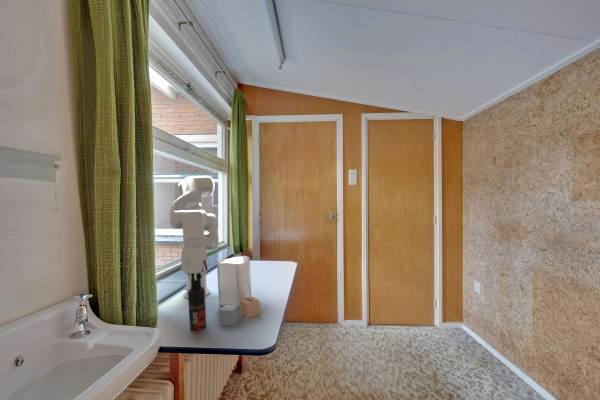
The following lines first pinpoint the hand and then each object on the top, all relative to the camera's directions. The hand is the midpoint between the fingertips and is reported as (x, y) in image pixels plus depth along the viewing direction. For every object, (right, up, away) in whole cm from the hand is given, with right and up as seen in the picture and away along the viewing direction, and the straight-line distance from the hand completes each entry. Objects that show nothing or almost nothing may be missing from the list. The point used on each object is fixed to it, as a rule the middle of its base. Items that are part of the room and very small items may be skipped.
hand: (196, 289), depth 103 cm
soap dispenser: (+12, -15, +24) cm, 30 cm away
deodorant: (+1, -15, 0) cm, 15 cm away
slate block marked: (+12, -15, +5) cm, 19 cm away
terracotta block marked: (+19, -14, +11) cm, 26 cm away
